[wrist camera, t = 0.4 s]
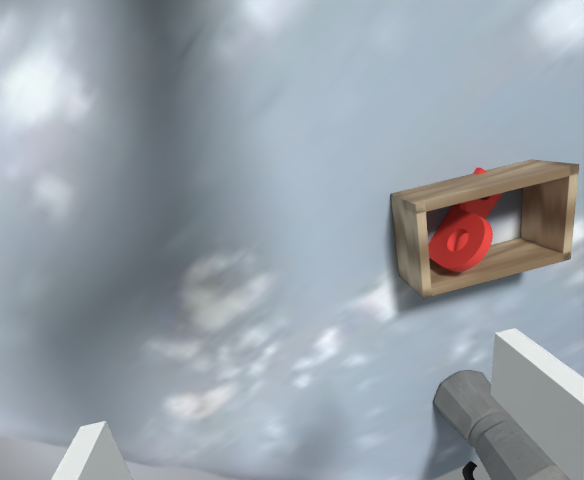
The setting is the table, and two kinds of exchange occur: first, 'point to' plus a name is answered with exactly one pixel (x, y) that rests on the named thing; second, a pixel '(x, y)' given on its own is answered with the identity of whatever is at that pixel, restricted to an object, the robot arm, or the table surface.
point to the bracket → (464, 234)
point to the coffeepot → (492, 431)
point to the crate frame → (500, 257)
